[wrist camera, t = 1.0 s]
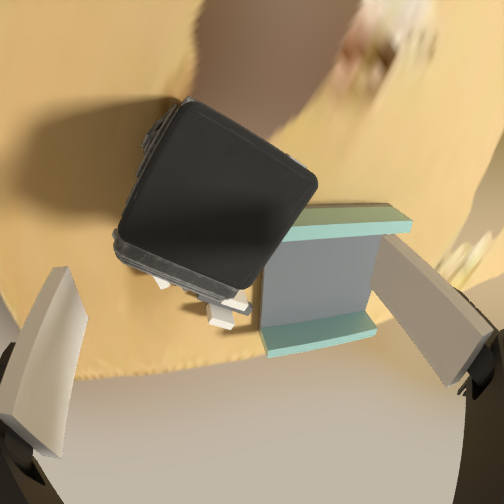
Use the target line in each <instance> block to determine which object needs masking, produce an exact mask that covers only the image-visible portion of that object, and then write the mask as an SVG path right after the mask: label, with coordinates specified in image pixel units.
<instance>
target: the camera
mask: <svg viewBox="0 0 504 504" xmlns="http://www.w3.org/2000/svg"><path fill="white" fill-rule="evenodd" d="M177 107H178V105H177V104H174V105H173V106H172V107H171V108H170V109H169V110H168V111H167V112H166V113H165V114H164V115H163V116H162V117H161V118H160V120H159V119H158V120H157V122H156V123H155V124H154V125H153V127H152V128H151V129H150V131H149V132H148V133H147V134H146V137H145V139H144V141H143V143H142V144H141V147H142V148H145V149H144V154H145V156H144V158H143V160H142V162H141V164H140V166H139V168H138V170H137V173H136V175H135V176H136V177H138V180H137V181H136V182H135V184H134V186H133V188H132V190H131V193H130V195H129V197H128V199H127V201H126V206H125V209H124V211H123V213H122V215H121V216H122V218H121V220H120V223H119V225H118V228H116V229H114V231H113V233H112V236H113V238H114V240H115V241H114V244H113V247H114V251H115V254H116V256H117V258H118V259H119V260H120V261H121V262H122V263H124V264H126V265H129V266H131V267H133V268H136V269H138V270H140V271H143V272H145V273H148V274H150V275H152V276H155V277H157V278H160V279H162V280H165V281H167V282H169V283H172V284H174V285H177V286H179V287H182V288H185V289H187V290H190V291H192V292H195V293H197V294H200V295H203V296H205V297H208V298H210V299H213V300H216V301H218V302H219V301H224V300H229V299H234V297H235V296H236V294H237V293H238V291H239V290H244V289H246V288H248V287H250V286H251V285H252V284H253V282H254V281H255V279H256V278H257V277H258V275H259V274H260V272H261V271H262V269H263V268H264V266H265V265H266V264H267V262H268V261H269V259H270V258H271V256H272V255H273V253H274V252H275V250H276V249H277V248H278V246H279V245H280V243H281V242H282V240H283V239H284V237H285V236H286V234H287V233H288V231H289V230H290V229H291V227H292V226H293V224H294V223H295V221H296V220H297V218H298V217H299V215H300V214H301V212H302V211H303V209H304V208H305V206H306V205H307V203H308V202H309V200H310V199H311V197H312V196H313V195H314V193H315V192H316V190H317V189H318V180H317V178H316V176H315V175H314V174H313V173H312V172H310V171H309V170H308V169H307V167H306V166H304V165H303V164H301V163H300V162H299V161H297V160H296V159H294V158H293V157H291V156H290V155H288V154H287V153H286V154H285V153H284V152H282V151H281V150H279V149H278V148H276V147H275V146H273V145H272V144H270V143H269V142H267V141H266V140H264V139H262V138H261V137H259V136H258V135H256V134H254V133H252V132H251V131H250V130H248V129H246V128H245V127H243V126H241V125H240V124H238V123H236V122H234V121H233V120H231V119H229V118H228V117H226V116H225V115H223V114H221V113H219V112H217V111H216V110H214V109H212V108H211V107H209V106H207V105H205V104H203V103H202V102H200V101H198V100H196V99H194V98H193V97H190V96H187V97H186V98H185V99H184V101H183V102H182V103H181V105H180V108H178V109H177V110H176V108H177ZM175 110H176V112H174V111H175Z"/></svg>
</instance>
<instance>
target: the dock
mask: <svg viewBox="0 0 504 504" xmlns="http://www.w3.org/2000/svg"><path fill="white" fill-rule="evenodd" d="M412 222H413V220H411V219H410V218H409V217H407V216H406V215H404V214H403V213H402V212H400V211H399V210H397V209H396V208H394V207H393V206H391V205H390V204H326V205H306V206H305V208H304V209H303V211H302V212H301V214H300V215H299V217H298V218H297V220H296V221H295V223H294V224H293V226H292V227H291V229H290V230H289V231H288V233H287V234H286V236H285V237H284V239H283V240H282V242H281V243H280V245H279V246H278V248H277V249H276V250H275V252H274V253H273V255H272V256H271V258H270V259H269V261H268V262H267V264H266V265H265V266H264V268H263V269H262V280H261V298H260V315H259V334H260V337H261V340H262V343H263V346H264V349H265V352H266V355H267V358H271V357H277V356H283V355H289V354H294V353H299V352H305V351H310V350H315V349H319V348H324V347H329V346H334V345H338V344H343V343H347V342H351V341H355V340H359V339H363V338H367V337H371V336H374V335H375V334H376V331H377V327H376V325H375V324H374V322H373V321H372V320H371V318H370V317H369V315H368V314H367V313H366V311H365V309H366V306H367V303H368V299H369V296H370V293H371V290H372V289H371V287H370V286H369V283H370V279H371V276H372V272H373V268H374V264H375V260H376V256H377V252H378V248H379V244H380V240H381V235H387V234H395V233H409V232H410V230H411V226H412Z"/></svg>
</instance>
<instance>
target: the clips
mask: <svg viewBox="0 0 504 504" xmlns="http://www.w3.org/2000/svg"><path fill="white" fill-rule="evenodd" d="M153 277H154V279H155V281H156V282H157V284H158V285H159V287H160V288H161V290H162V289H164V288H167V287H169V286H170V283H169V282H167V281H165V280H162V279H160V278H157V277H155V276H153ZM221 304H223V305H226V306H229V307H232V308H235V309H239V310H242V311H245V310H246V308H247V307H248V305H249V304H248V301H247V298H246V295H245V292H244V290H239V291H238V293H237V294H236V296H235V297H234V299H229V300H224V301H221ZM206 311H207V318H208V324H212V325H215V326H218V327H222V328H225V329H229V330H231V329H232V328H233V326H234V325H235V323H234V319H233V315H232V311H231V310H228V309H225V308H222V307H219V306H216V305H213V304H210V303H208V304H207V306H206Z"/></svg>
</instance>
